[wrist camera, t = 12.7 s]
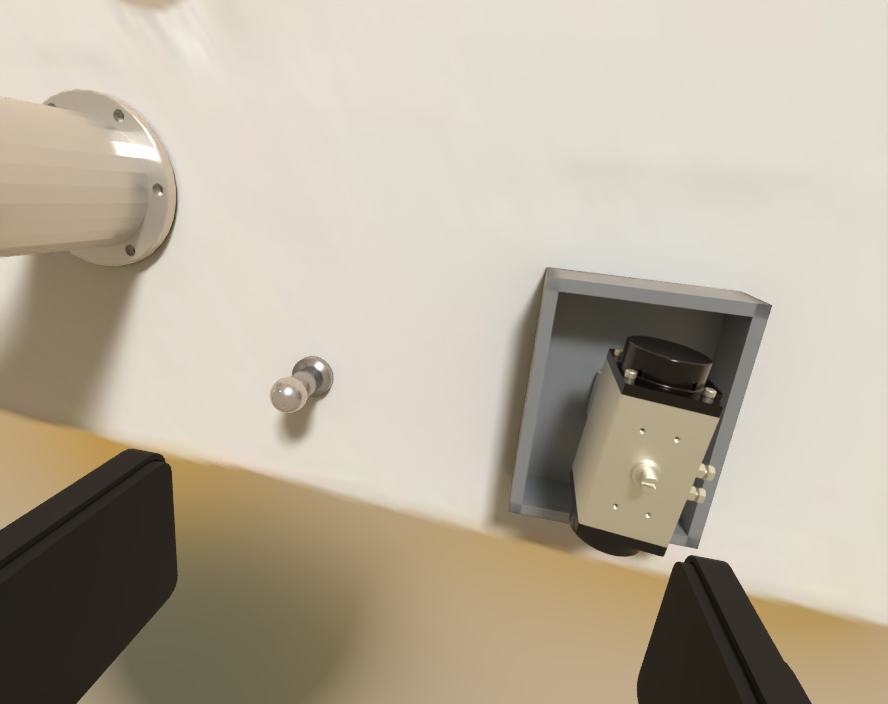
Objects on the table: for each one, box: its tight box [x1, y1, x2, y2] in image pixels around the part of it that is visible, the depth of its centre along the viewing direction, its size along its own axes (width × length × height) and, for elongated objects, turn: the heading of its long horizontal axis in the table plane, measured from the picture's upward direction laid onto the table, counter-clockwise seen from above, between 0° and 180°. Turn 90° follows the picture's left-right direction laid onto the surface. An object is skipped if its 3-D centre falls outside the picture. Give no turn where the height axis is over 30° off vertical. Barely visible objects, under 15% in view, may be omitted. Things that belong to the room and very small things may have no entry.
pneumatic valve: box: [569, 335, 724, 557], centre depth 30 cm, size 6×12×12 cm, turn 169°
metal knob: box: [270, 356, 333, 413], centre depth 38 cm, size 3×3×6 cm
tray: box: [509, 267, 772, 549], centre depth 34 cm, size 13×17×5 cm
